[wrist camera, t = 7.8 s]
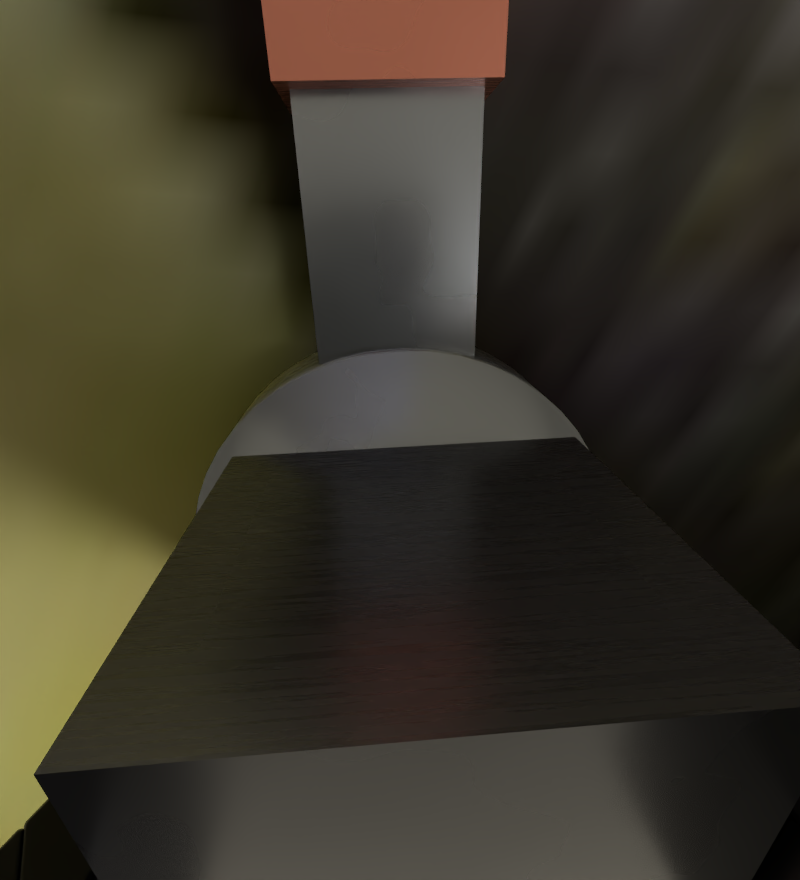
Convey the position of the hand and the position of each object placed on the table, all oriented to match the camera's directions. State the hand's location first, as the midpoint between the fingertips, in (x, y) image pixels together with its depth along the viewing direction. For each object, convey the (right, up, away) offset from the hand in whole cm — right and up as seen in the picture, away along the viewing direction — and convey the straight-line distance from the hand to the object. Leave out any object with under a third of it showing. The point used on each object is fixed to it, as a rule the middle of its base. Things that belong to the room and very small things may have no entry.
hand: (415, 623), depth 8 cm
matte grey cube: (0, 0, +1) cm, 1 cm away
